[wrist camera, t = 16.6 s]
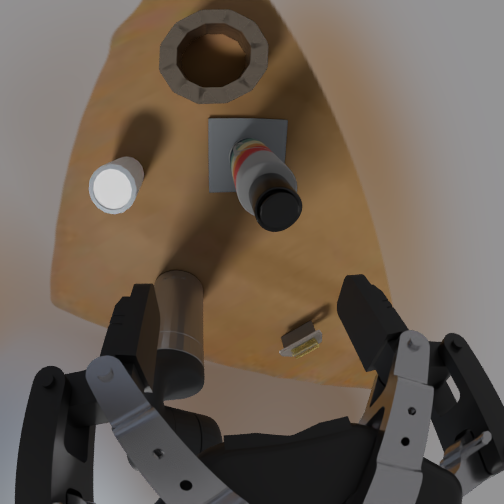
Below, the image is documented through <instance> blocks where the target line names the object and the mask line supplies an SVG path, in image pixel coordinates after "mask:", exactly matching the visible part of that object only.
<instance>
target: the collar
mask: <svg viewBox="0 0 504 504" xmlns="http://www.w3.org/2000/svg"><path fill="white" fill-rule="evenodd" d="M206 34H224V35H226V36H228V37H230V38H232V39H234V40H236V41H238V43H239V45H240V46H241V48H242V49H243V51H244V53H245V69H244V70H243V72H242V73H241V75H240V76H239V78H238V79H237V80H236V81H234V82H232V83H230V84H228V85H226V86H224V87H209V88H202V87H200V86H198V85H196V84H194V83H192V82H190V81H189V80H188V79H187V77H186V75H185V74H184V72H183V71H182V55H183V53H184V52H185V50H186V49H187V47H188V46H189V45H190V43H191V42H192V41H194V40H196V39H198V38H200V37H202V36H204V35H206ZM267 65H268V42H267V40H266V39H265V37H264V36H263V34H262V32H261V31H260V29H259V28H258V26H257V24H256V23H254V21H252V20H250V19H248V18H246V17H244V16H242V15H240V14H238V13H236V12H234V11H232V10H202V11H201V10H200V11H198V12H196V13H194V14H192V15H190V16H188V17H186V18H184V19H182V20H180V21H178V22H176V24H174V26H173V27H172V29H171V30H170V31H169V33H168V34H167V36H166V37H165V39H164V40H163V42H162V43H161V46H160V61H159V70H160V73H161V74H162V76H163V77H164V79H165V80H166V82H167V83H168V85H169V86H170V88H171V90H172V91H173V92H174V93H176V94H178V95H180V96H183V97H185V98H187V99H189V100H191V101H193V102H195V103H197V104H211V103H228V102H230V101H232V100H234V99H236V98H238V97H240V96H242V95H244V94H246V93H248V92H250V91H252V90H253V88H254V87H255V85H256V84H257V83H258V81H259V80H260V78H261V77H262V75H263V74H264V73H265V71H266V70H267V69H266V68H267Z"/></svg>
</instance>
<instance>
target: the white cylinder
mask: <svg viewBox="0 0 504 504" xmlns="http://www.w3.org/2000/svg"><path fill="white" fill-rule="evenodd" d="M143 178H144V171H143V167H142V166H141V164H140V163H139V161H137V160H136V159H134V158H133V157H127V156H126V157H122V158H118V159H116V160H114V161H112V162H109V163H107V164H105V165H103V166H101V167H100V168H98V169H97V170H96V171H95V172H94V173H93V175H92V177H91V179H90V182H89V193H90V196H91V199H92V201H93V202H94V204H95V205H96V206H97V208H99V209H101V210H102V211H104V212H105V213H111V214H118V213H122V212H124V211H126V210H127V209H128V208H130V207H131V205H132V204H133V202H134V200H135V198H136V196H137V194H138V191H139V189H140V187H141V184H142V182H143Z"/></svg>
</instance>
